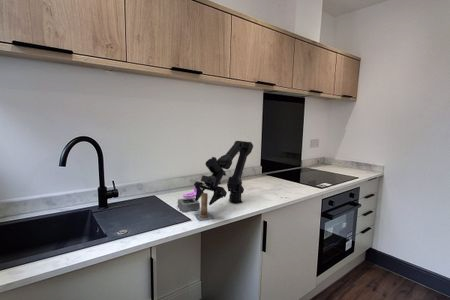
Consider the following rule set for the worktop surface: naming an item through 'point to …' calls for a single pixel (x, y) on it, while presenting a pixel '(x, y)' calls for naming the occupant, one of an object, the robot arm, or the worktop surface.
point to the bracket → (190, 194)
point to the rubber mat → (203, 218)
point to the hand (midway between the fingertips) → (202, 202)
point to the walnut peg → (204, 205)
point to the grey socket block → (188, 204)
